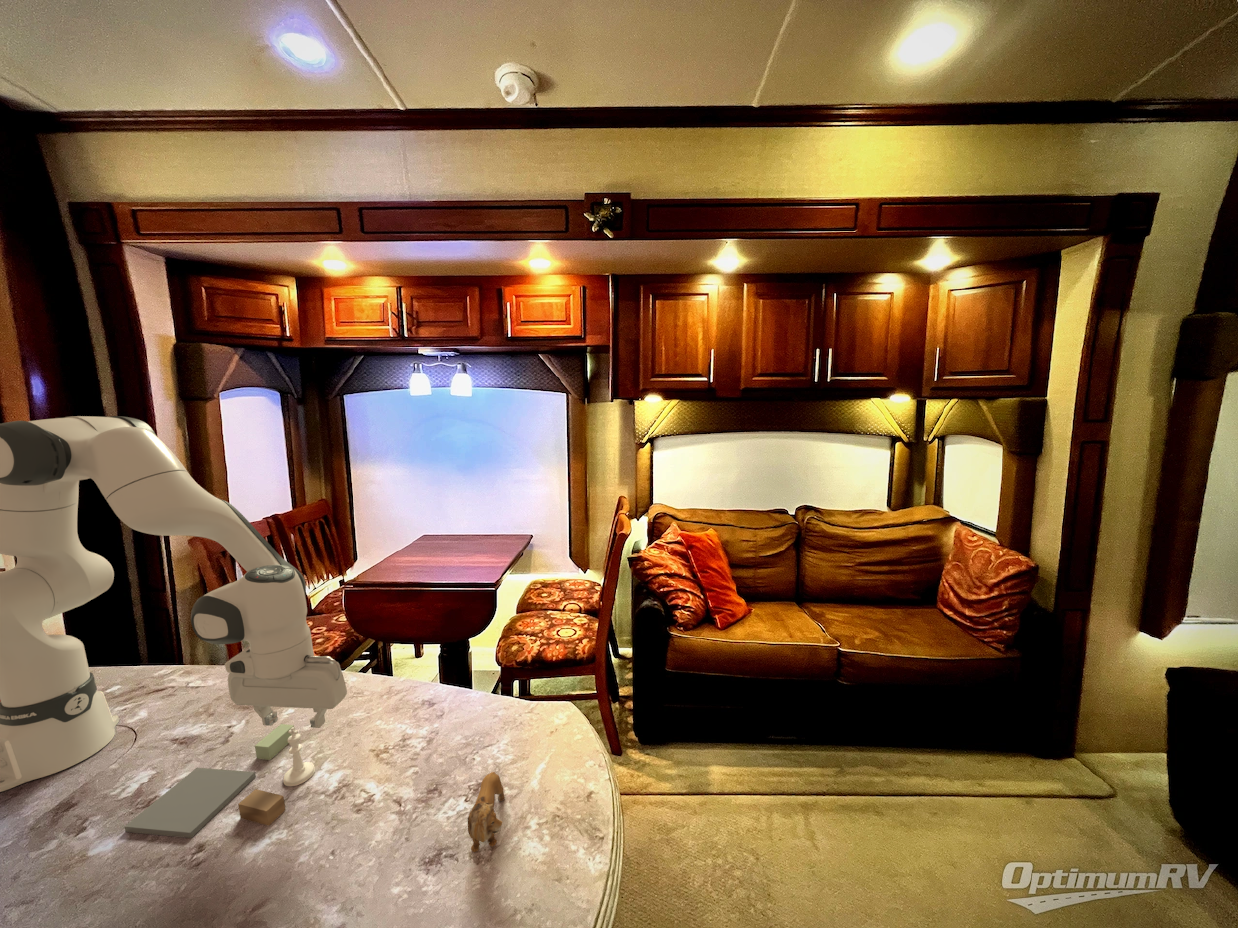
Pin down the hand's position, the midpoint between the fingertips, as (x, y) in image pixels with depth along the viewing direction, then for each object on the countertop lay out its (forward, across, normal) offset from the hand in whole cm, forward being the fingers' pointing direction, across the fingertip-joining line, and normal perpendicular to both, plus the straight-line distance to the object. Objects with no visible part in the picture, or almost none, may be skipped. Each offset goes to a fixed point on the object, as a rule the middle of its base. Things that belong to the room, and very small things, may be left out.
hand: (294, 724), depth 85 cm
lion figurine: (+12, -39, +7) cm, 42 cm away
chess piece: (+11, +1, 0) cm, 11 cm away
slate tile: (+10, +15, +7) cm, 19 cm away
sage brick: (+11, +11, -6) cm, 16 cm away
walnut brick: (+11, +1, +8) cm, 14 cm away
